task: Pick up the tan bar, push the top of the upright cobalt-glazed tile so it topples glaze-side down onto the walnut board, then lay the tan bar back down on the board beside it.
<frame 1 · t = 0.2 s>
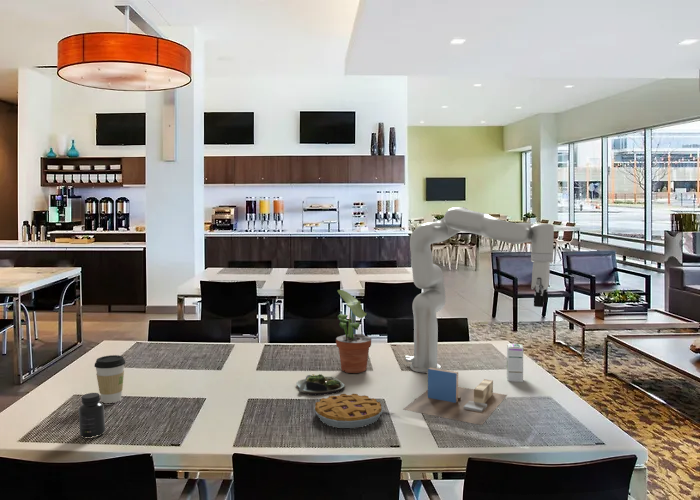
hand: (540, 304, 205), 31 cm above the table, tool pointing down, fingers open, 9 cm apart
tan bar: (483, 399, 191), point 1 cm above the table, touching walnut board
salad plate: (319, 389, 207), on the table
coffee cup: (111, 401, 194), on the table
supplement bottle: (92, 435, 166), on the table
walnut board: (456, 406, 189), on the table
potted plant: (354, 371, 227), on the table
tile: (443, 398, 192), point 1 cm above the table, touching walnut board
pie: (348, 418, 179), on the table
syrup box: (514, 383, 213), on the table
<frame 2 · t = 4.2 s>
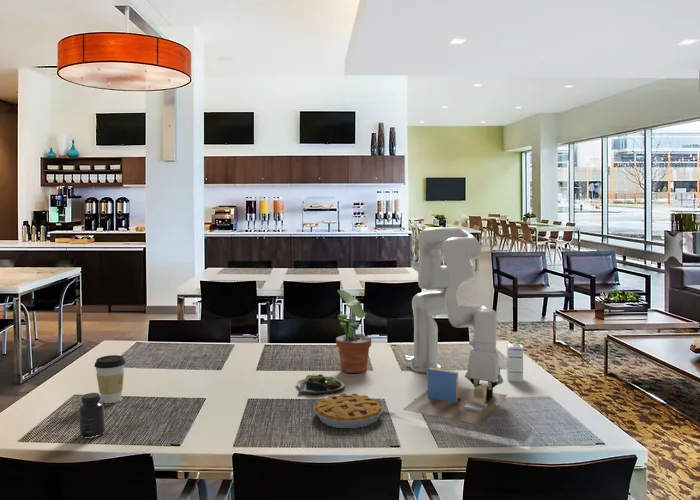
hand: (483, 398, 191), 2 cm above the table, tool pointing down, fingers closed on tan bar, 3 cm apart
tan bar: (483, 399, 191), point 1 cm above the table, touching gripper, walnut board
everything else where it was.
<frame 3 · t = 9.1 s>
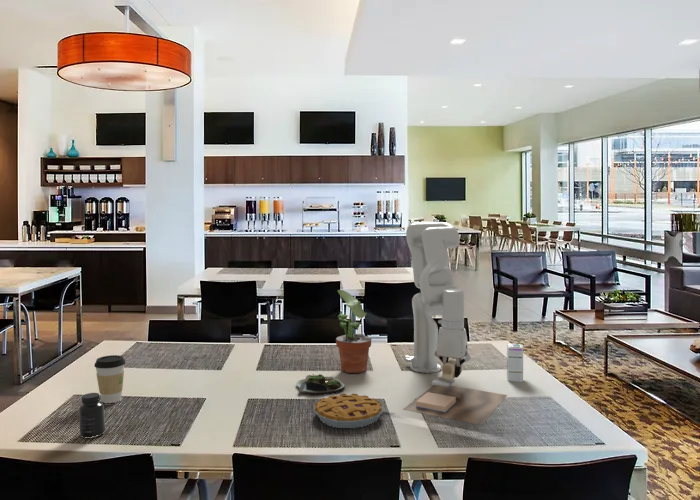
hand: (452, 375, 198), 7 cm above the table, tool pointing down, fingers closed on tan bar, 3 cm apart
tan bar: (452, 375, 198), point 7 cm above the table, touching gripper
tile: (441, 394, 190), point 3 cm above the table, tilted 90°, touching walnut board
everything else where it was.
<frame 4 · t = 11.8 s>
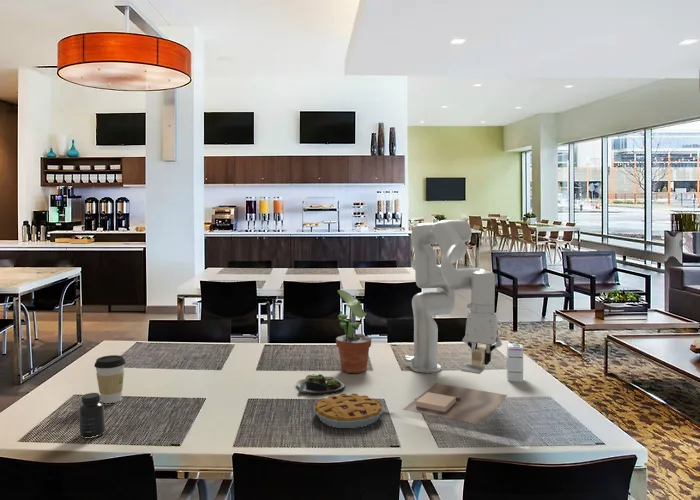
hand: (481, 362, 187), 15 cm above the table, tool pointing down, fingers closed on tan bar, 3 cm apart
tan bar: (481, 363, 187), point 15 cm above the table, touching gripper
everything else where it was.
when the fingers open (3 cm above the table, at t = 14.1 s): tan bar drops 1 cm, resting on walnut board.
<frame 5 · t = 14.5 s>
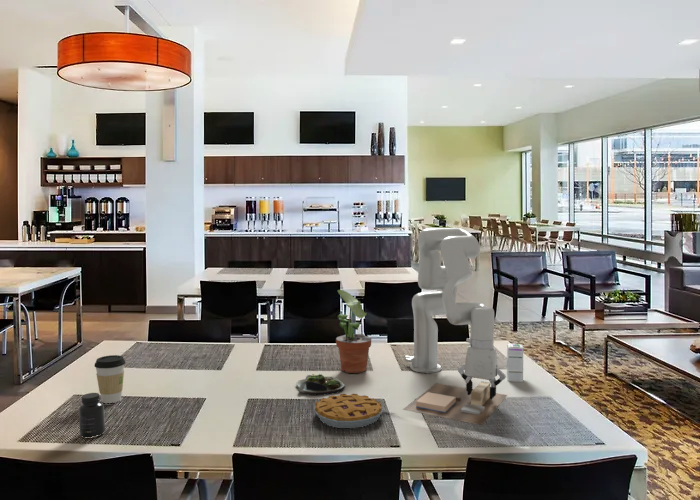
hand: (480, 395, 188), 4 cm above the table, tool pointing down, fingers open, 7 cm apart
tan bar: (480, 401, 189), point 1 cm above the table, touching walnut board
everything else where it was.
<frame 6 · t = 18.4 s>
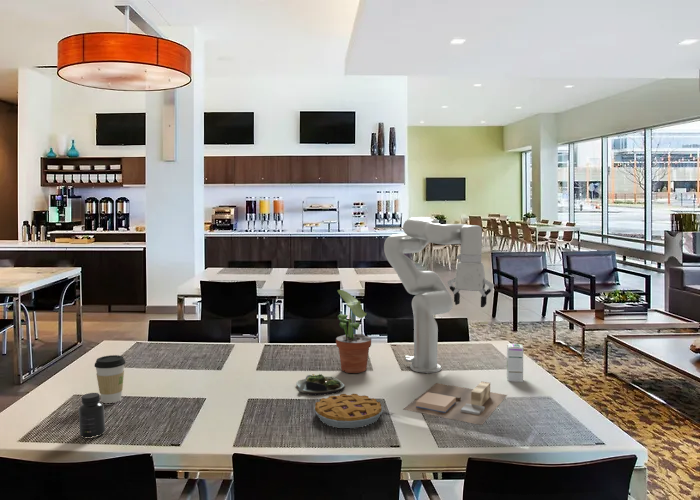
hand: (470, 305, 206), 30 cm above the table, tool pointing down, fingers open, 9 cm apart
nothing on the table moved.
at the end: tile tilted 90°; tile inside the target area (0.3 cm from its centre), point 3.5 cm above the table; tan bar inside the target area (0.2 cm from its centre), point 1.5 cm above the table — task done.
